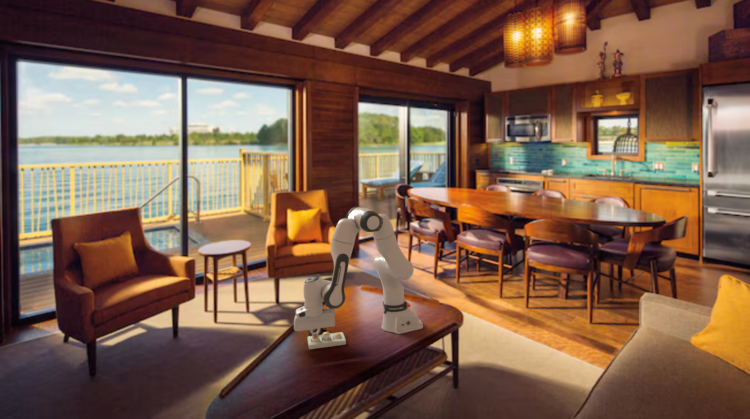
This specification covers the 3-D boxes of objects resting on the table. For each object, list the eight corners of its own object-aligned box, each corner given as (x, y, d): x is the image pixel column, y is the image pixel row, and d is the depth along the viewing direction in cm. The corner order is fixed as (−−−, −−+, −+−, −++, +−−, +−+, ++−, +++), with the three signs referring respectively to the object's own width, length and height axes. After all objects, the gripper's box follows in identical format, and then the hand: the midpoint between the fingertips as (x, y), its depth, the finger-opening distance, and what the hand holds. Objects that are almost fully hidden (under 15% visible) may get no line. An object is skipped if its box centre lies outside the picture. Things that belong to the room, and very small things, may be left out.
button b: (329, 337, 211) (329, 331, 210) (330, 340, 207) (330, 334, 207) (322, 338, 210) (322, 332, 209) (323, 341, 206) (322, 335, 206)
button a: (340, 338, 212) (340, 332, 212) (341, 341, 209) (341, 335, 208) (333, 339, 211) (333, 333, 211) (334, 342, 208) (334, 336, 207)
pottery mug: (328, 341, 213) (319, 329, 211) (312, 348, 215) (304, 336, 213) (331, 325, 224) (323, 314, 222) (316, 332, 226) (308, 321, 224)
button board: (342, 337, 216) (342, 332, 215) (346, 346, 206) (345, 340, 206) (307, 342, 212) (307, 336, 211) (309, 351, 202) (308, 345, 202)
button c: (318, 341, 210) (318, 335, 209) (319, 344, 206) (319, 338, 206) (311, 342, 209) (311, 336, 208) (312, 345, 205) (311, 339, 205)
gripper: (334, 305, 211) (335, 331, 213) (292, 310, 206) (294, 336, 208) (335, 309, 204) (337, 336, 206) (293, 314, 200) (295, 342, 202)
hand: (315, 336), depth 207 cm, fingers closed
